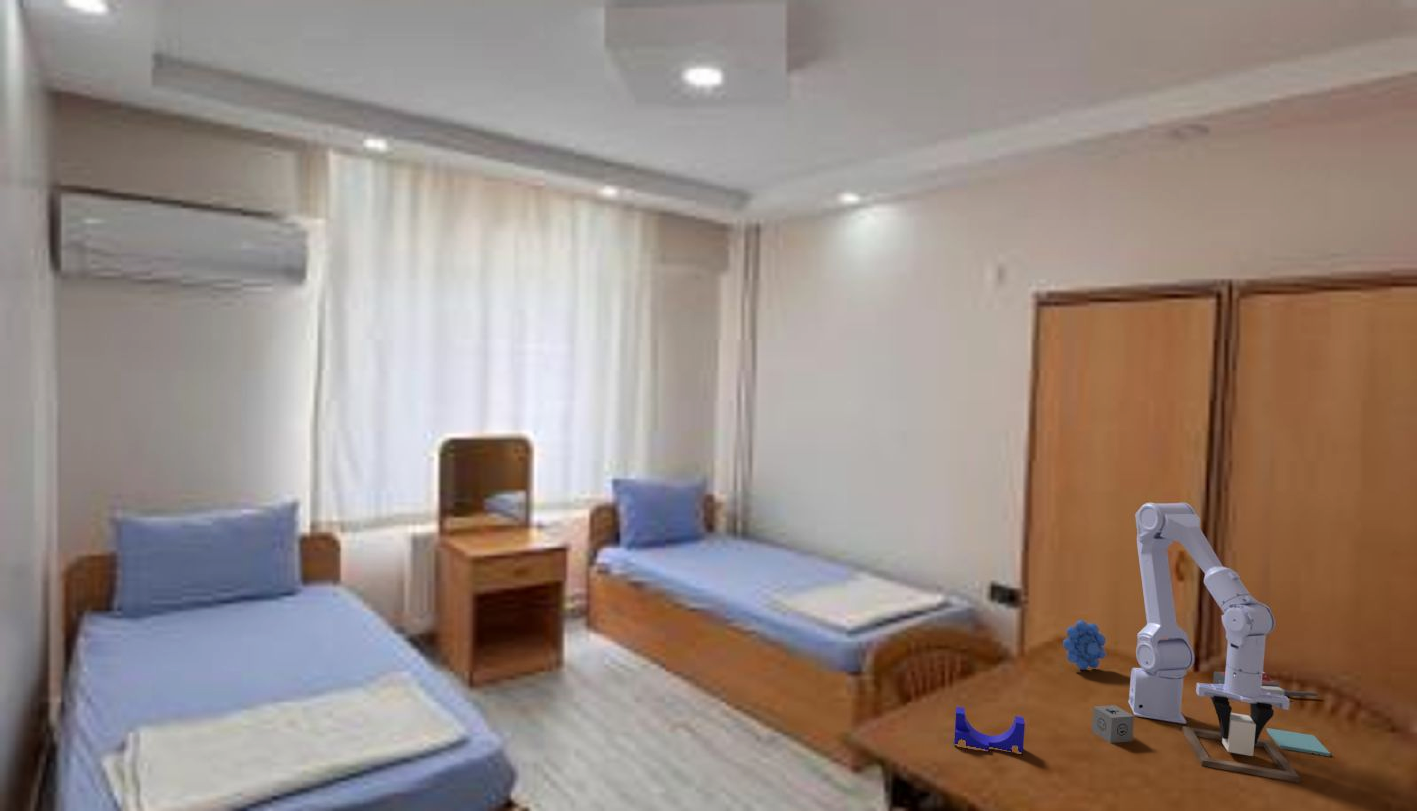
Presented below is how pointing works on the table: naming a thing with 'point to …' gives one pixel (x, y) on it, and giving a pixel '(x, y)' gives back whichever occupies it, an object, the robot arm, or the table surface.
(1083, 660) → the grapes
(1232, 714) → the cream block
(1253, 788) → the table surface
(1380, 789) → the table surface
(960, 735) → the blue cradle stand
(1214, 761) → the brown square frame
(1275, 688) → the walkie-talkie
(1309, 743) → the mat
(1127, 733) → the dice cube
